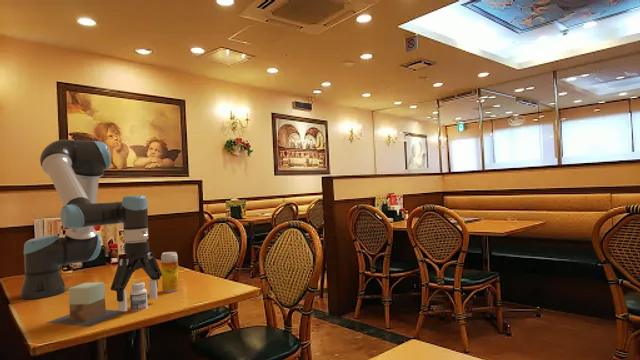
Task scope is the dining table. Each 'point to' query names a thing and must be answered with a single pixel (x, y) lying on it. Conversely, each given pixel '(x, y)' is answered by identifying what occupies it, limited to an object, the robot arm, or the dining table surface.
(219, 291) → the dining table surface
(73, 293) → the block upper
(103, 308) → the block lower
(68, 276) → the dining table surface
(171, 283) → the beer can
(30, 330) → the dining table surface
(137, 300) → the pill bottle
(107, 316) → the mat
